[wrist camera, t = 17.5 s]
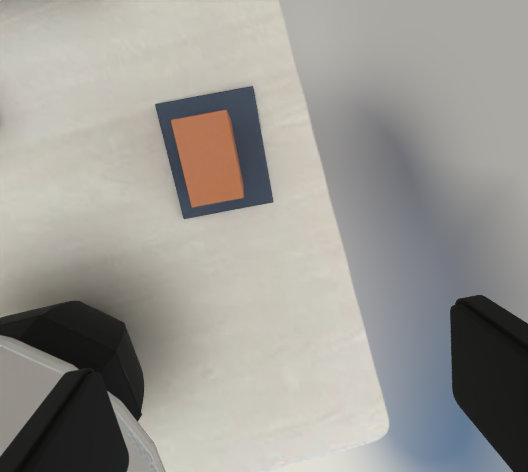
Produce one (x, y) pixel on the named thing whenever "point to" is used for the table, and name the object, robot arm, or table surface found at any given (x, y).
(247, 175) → the mat
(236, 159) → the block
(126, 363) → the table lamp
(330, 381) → the table surface
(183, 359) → the table surface
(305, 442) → the table surface
